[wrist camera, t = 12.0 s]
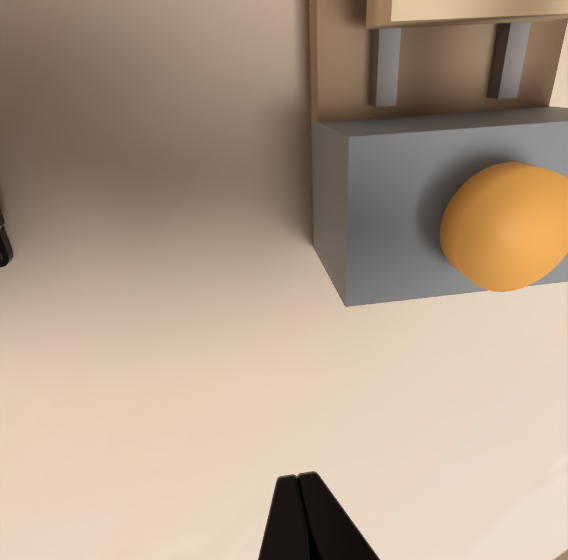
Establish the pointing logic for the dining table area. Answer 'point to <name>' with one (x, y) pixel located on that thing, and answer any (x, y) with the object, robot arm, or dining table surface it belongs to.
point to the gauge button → (507, 226)
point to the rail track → (425, 65)
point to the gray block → (414, 193)
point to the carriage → (460, 12)
